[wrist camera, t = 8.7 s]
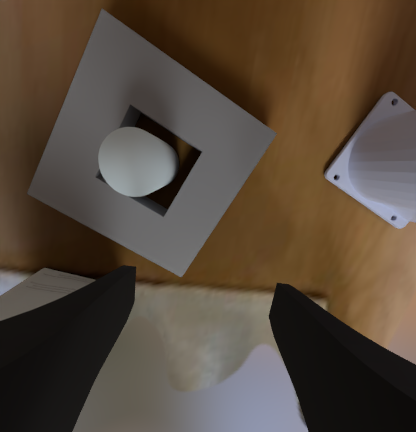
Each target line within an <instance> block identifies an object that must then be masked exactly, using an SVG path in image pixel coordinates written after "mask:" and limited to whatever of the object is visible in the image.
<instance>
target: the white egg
mask: <svg viewBox="0 0 416 432" xmlns="http://www.w3.org/2000/svg"><path fill="white" fill-rule="evenodd" d="M98 162H99V168H100V171H101V174H102V176H103V178H104V179H105V181H106V182H107V183H108V184H109V185H110V186H111V187H112V188H113V189H114V190H115V191H117V192H119V193H121V194H123V195H126V196H131V197H141V196H145V195H148V194H150V193H152V192H154V191H156V190H158V189H160V188H162V187H164V186H166V185H168V184H169V183H171V182H172V181H173V180H174V179H175V178H176V176H177V174H178V171H179V158H178V155H177V153H176V151H175V150H174V149H173V148H172V147H171V146H170V145H169V144H168V143H166V142H164V141H162V140H161V139H159V138H157V137H155V136H154V135H152V134H150V133H148V132H146V131H145V130H142V129H140V128H136V127H123V128H119V129H116V130H114V131H113V132H111V133H110V134H109V135H108V136H107V137H106V138H105V139H104V141H103V142H102V144H101V146H100V149H99V154H98Z"/></svg>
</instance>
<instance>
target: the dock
mask: <svg viewBox="0 0 416 432" xmlns="http://www.w3.org/2000/svg"><path fill="white" fill-rule="evenodd" d="M141 113H142V114H143V115H145V116H146V117H148V118H150V119H151V120H153V121H154V122H156V123H157V124H159V125H160V126H162V127H163V128H165V129H166V130H168V131H169V132H171V133H172V134H174V135H176V136H177V137H179V138H180V139H182V140H183V141H185V142H186V143H188V144H189V145H191V146H192V147H194V148H195V149H197V150H198V151H200V152H202V153H201V155H200V156H199V158H198V160H197V162H196V163H195V165H194V167H193V168H192V170H191V172H190V173H189V175H188V177H187V178H186V180H185V182H184V184H183V185H182V187H181V189H180V190H179V192H178V194H177V195H176V197H175V199H174V200H173V202H172V204H171V206H170V207H169V209H166V208H164V207H163V206H161V205H159V204H158V203H156V202H154V201H153V200H151V199H149V198H148V197H146V196H141V197H131V196H126V195H123V194H121V193H119V192H117V191H115V190H114V189H113V188H112V187H111V186H110V185H109V184H108V183H107V182H106V181H105V179H104V178H103V176H102V174H101V171H100V168H99V162H98V154H99V149H100V146H101V144H102V142H103V141H104V139H105V138H106V137H107V136H108V135H109V134H110V133H111V132H113V131H114V130H116V129H119V128H123V127H135V125H136V123H137V121H138V119H139V117H140V115H141ZM276 134H277V133H275V132H274V131H273V130H271V129H270V128H268V127H267V126H266V125H264V124H263V123H261V122H260V121H259V120H257V119H256V118H254V117H253V116H252V115H250V114H249V113H247V112H246V111H245V110H243V109H242V108H240V107H239V106H238V105H236V104H235V103H233V102H232V101H231V100H229V99H228V98H226V97H225V96H224V95H222V94H221V93H219V92H218V91H217V90H215V89H214V88H213V87H211V86H210V85H208V84H207V83H206V82H204V81H203V80H201V79H200V78H199V77H197V76H196V75H194V74H193V73H192V72H190V71H189V70H187V69H186V68H185V67H183V66H182V65H180V64H179V63H178V62H176V61H175V60H173V59H172V58H171V57H169V56H168V55H166V54H165V53H164V52H162V51H161V50H159V49H158V48H157V47H155V46H154V45H152V44H151V43H150V42H148V41H147V40H145V39H144V38H143V37H141V36H140V35H138V34H137V33H136V32H134V31H133V30H131V29H130V28H129V27H127V26H126V25H124V24H123V23H122V22H120V21H119V20H117V19H116V18H115V17H113V16H112V15H110V14H109V13H108V12H106V11H105V10H103V9H102V10H101V12H100V15H99V17H98V20H97V22H96V24H95V27H94V29H93V32H92V34H91V37H90V39H89V42H88V44H87V47H86V49H85V52H84V54H83V57H82V59H81V61H80V64H79V66H78V69H77V71H76V74H75V76H74V79H73V81H72V84H71V86H70V89H69V91H68V94H67V96H66V98H65V101H64V103H63V106H62V108H61V111H60V113H59V116H58V118H57V121H56V123H55V126H54V128H53V131H52V133H51V135H50V138H49V140H48V143H47V145H46V148H45V150H44V153H43V155H42V158H41V160H40V163H39V165H38V168H37V170H36V172H35V175H34V177H33V180H32V182H31V185H30V187H29V190H28V192H27V194H28V195H30V196H32V197H34V198H36V199H37V200H39V201H41V202H43V203H45V204H47V205H49V206H50V207H52V208H54V209H56V210H58V211H60V212H61V213H63V214H65V215H67V216H69V217H71V218H73V219H74V220H76V221H78V222H80V223H82V224H84V225H86V226H87V227H89V228H91V229H93V230H95V231H97V232H98V233H100V234H102V235H104V236H106V237H108V238H110V239H111V240H113V241H115V242H117V243H119V244H121V245H123V246H124V247H126V248H128V249H130V250H132V251H134V252H135V253H137V254H139V255H141V256H143V257H145V258H147V259H148V260H150V261H152V262H154V263H156V264H158V265H160V266H161V267H163V268H165V269H167V270H169V271H171V272H172V273H174V274H176V275H178V276H180V277H182V276H183V274H184V273H185V271H186V270H187V268H188V267H189V265H190V264H191V262H192V261H193V259H194V258H195V256H196V255H197V253H198V252H199V250H200V249H201V247H202V246H203V244H204V243H205V241H206V240H207V238H208V237H209V235H210V234H211V232H212V231H213V229H214V228H215V226H216V225H217V223H218V222H219V220H220V219H221V217H222V216H223V214H224V213H225V211H226V210H227V208H228V207H229V205H230V204H231V202H232V201H233V199H234V198H235V196H236V195H237V193H238V192H239V190H240V189H241V187H242V186H243V184H244V183H245V181H246V180H247V178H248V177H249V175H250V174H251V172H252V171H253V169H254V168H255V166H256V164H257V163H258V161H259V160H260V158H261V157H262V155H263V154H264V152H265V151H266V149H267V148H268V146H269V145H270V143H271V142H272V140H273V139H274V137H275V136H276Z"/></svg>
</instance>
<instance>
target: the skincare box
mask: <svg viewBox="0 0 416 432" xmlns="http://www.w3.org/2000/svg"><path fill="white" fill-rule="evenodd" d="M94 281H96V280H94V279H90V278H86V277H82V276H78V275H73V274H69V273H64V272H60V271H56V270H52V269H48V268H43V269H41V270H40V271H38V272H37V273H35V274H33V275H32V276H30V277H29V278H27V279H26V280H24V281H23V282H21V283H20V284H18V285H16V286H15V287H13V288H12V289H10V290H9V291H7V292H6V293H4V294H3V295H1V296H0V321H1V320H4V319H7V318H10V317H13V316H16V315H19V314H21V313H24V312H27V311H30V310H33V309H35V308H38V307H40V306H43V305H45V304H48V303H50V302H52V301H55V300H57V299H59V298H61V297H64V296H66V295H68V294H70V293H72V292H74V291H76V290H78V289H80V288H82V287H84V286H86V285H88V284H90V283H92V282H94Z"/></svg>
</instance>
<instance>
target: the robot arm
mask: <svg viewBox="0 0 416 432" xmlns="http://www.w3.org/2000/svg"><path fill="white" fill-rule="evenodd" d="M392 100H393V102H394V104H393V105H392ZM335 175H337V178H336V179H335V180H334V176H335ZM324 176H325V178H326V179H327V180H329V181H330V182H331V183H333V184H334V185H336V186H337V187H339V188H340V189H341V190H343V191H344V192H346V193H347V194H348V195H350V196H351V197H353V198H354V199H356V200H357V201H358V202H360V203H361V204H363V205H364V206H365V207H367V208H368V209H370V210H371V211H373V212H374V213H375V214H377V215H378V216H380V217H381V218H382V219H384V220H385V221H387V222H388V223H390V224H391V225H392V226H394V227H396V228H399V229H400V228H403V227H405V226H406V225H407V223H408V222H409V221H411V222H415V223H416V110H414V109H413V108H412V107H411V106H410V105H408V104H407V103H406V102H405V101H404V100H402V99H401V98H400V97H399V96H398V95H396V94H395V93H394V92H388V93H386V94H384V95H383V96H382V97H381V98H380V100H379V101H378V102H377V104H376V105H375V106H374V108H373V109H372V110H371V112H370V113H369V114H368V115H367V117H366V118H365V119H364V121H363V122H362V123H361V125H360V126H359V127H358V129H357V130H356V131H355V133H354V134H353V135H352V137H351V138H350V139H349V141H348V142H347V143H346V145H345V146H344V147H343V149H342V150H341V151H340V153H339V154H338V155H337V157H336V158H335V159H334V161H333V162H332V163H331V165H330V166H329V167H328V169H327V170H326V171H325V174H324ZM392 216H393V218H392V219H391V217H392ZM135 279H136V267H133V266H125V265H124V266H121V267H119V268H117V269H116V270H114V271H112V272H110V273H108V274H107V275H105V276H103V277H101V278H99V279H97V280H96V281H94V282H92V283H90V284H88V285H86V286H84V287H82V288H80V289H78V290H76V291H74V292H72V293H70V294H68V295H66V296H64V297H61V298H59V299H57V300H55V301H52V302H50V303H48V304H45V305H43V306H40V307H38V308H35V309H33V310H30V311H27V312H24V313H21V314H19V315H16V316H13V317H10V318H7V319H4V320H1V321H0V432H72V431H73V429H74V426H75V424H76V422H77V419H78V417H79V415H80V412H81V410H82V408H83V406H84V403H85V401H86V399H87V397H88V394H89V392H90V390H91V387H92V385H93V383H94V381H95V379H96V377H97V375H98V373H99V371H100V369H101V367H102V366H103V364H104V362H105V360H106V358H107V357H108V355H109V353H110V351H111V349H112V347H113V346H114V344H115V342H116V340H117V338H118V337H119V335H120V333H121V331H122V329H123V327H124V325H125V324H126V322H127V319H128V317H129V314H130V312H131V309H132V307H133V304H134V300H135ZM269 319H270V324H271V328H272V331H273V335H274V338H275V341H276V343H277V346H278V348H279V351H280V353H281V356H282V358H283V361H284V363H285V366H286V368H287V371H288V373H289V376H290V378H291V381H292V383H293V386H294V388H295V391H296V394H297V397H298V399H299V402H300V406H301V409H302V412H303V415H304V418H305V422H306V425H307V428H308V432H416V365H415V364H413V363H411V362H410V361H408V360H406V359H404V358H402V357H400V356H398V355H396V354H394V353H393V352H391V351H389V350H387V349H385V348H384V347H382V346H380V345H378V344H377V343H375V342H373V341H372V340H370V339H368V338H367V337H365V336H363V335H362V334H360V333H358V332H357V331H355V330H354V329H352V328H351V327H349V326H348V325H346V324H345V323H343V322H342V321H340V320H339V319H337V318H336V317H334V316H333V315H331V314H330V313H329V312H327V311H326V310H324V309H323V308H322V307H320V306H319V305H318V304H316V303H315V302H313V301H312V300H311V299H309V298H308V297H307V296H305V295H304V294H303V293H301V292H300V291H298V290H297V289H295V288H294V287H292V286H291V285H289V284H282V283H277V285H276V289H275V293H274V297H273V301H272V305H271V309H270V313H269Z"/></svg>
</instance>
